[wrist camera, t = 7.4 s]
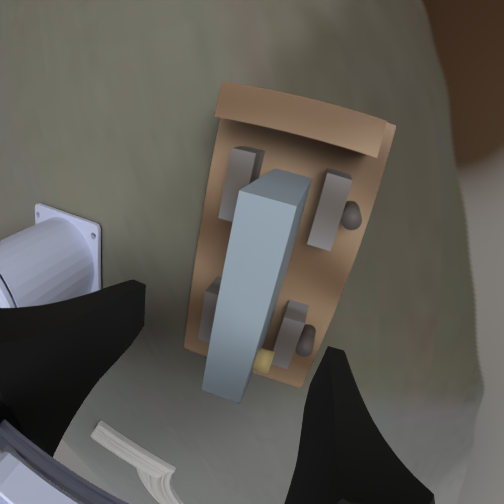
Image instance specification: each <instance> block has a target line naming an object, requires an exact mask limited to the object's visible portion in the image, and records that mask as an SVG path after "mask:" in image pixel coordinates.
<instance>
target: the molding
mask: <svg viewBox="0 0 504 504" xmlns="http://www.w3.org/2000/svg"><path fill="white" fill-rule="evenodd" d="M91 438H93V439H94V440H95V441H97V442H98V443H100V444H101V445H102V446H104V447H105V448H107V449H108V450H110V451H111V452H113V453H114V454H116V455H117V456H119V457H120V458H122V459H123V460H125V461H126V462H128V463H130V464H131V465H133V466H134V467H136V469H137V472H138V475H139V477H140V479H141V481H142V482H143V484H144V486H145V487H146V488H147V490H148V491H149V492H150V494H151V495H152V496H153V497H154V498H155V499H156V500H157V501H158V502H159V503H160V504H184V503H183V502H182V501H181V500H180V499H179V497H178V496H177V494H176V493H175V491H174V489H173V486H172V474H173V473H174V471H175V470H176V468H175V467H173V466H172V465H170V464H168V463H166V462H165V461H163V460H161V459H159V458H158V457H156V456H154V455H153V454H151V453H149V452H148V451H146V450H144V449H143V448H141V447H140V446H138V445H137V444H135V443H133V442H132V441H130V440H129V439H127V438H126V437H124V436H123V435H121V434H120V433H118V432H117V431H116V430H114V429H113V428H111V427H110V426H108V425H107V424H106V423H104V422H103V421H102V420H100V422H99V423H98V425H97V427H96V428H95V430H94V431H93V433H92V434H91Z"/></svg>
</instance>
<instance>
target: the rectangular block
mask: <svg viewBox="0 0 504 504" xmlns="http://www.w3.org/2000/svg"><path fill="white" fill-rule="evenodd" d="M311 181H312V178H310V177H306V176H303V175H299V174H295V173H292V172H288V171H284V170H281V169H277V168H275V169H273V170H271V171H270V172H268V173H266V174H265V175H263V176H262V177H260V178H258V179H257V180H255V181H253V182H252V183H250V184H249V185H247V186H246V187H244V188H242V189H241V190H239V194H238V199H237V204H236V209H235V214H234V218H233V223H232V228H231V233H230V238H229V243H228V248H227V254H226V259H225V264H224V269H223V274H222V279H221V285H220V290H219V295H218V300H217V306H216V311H215V316H214V322H213V327H212V333H211V338H210V344H209V349H208V355H207V361H206V366H205V372H204V378H203V384H202V390H203V391H205V392H208V393H210V394H213V395H216V396H219V397H221V398H224V399H227V400H230V401H233V402H235V403H238V404H240V402H241V399H242V397H243V394H244V392H245V389H246V387H247V384H248V382H249V379H250V377H251V374H252V372H253V370H256V371H259V372H262V373H265V374H268V371H269V369H270V366H271V363H272V360H273V357H274V354H275V352H273V351H270V350H266V349H263V348H262V346H263V344H264V341H265V339H266V336H267V333H268V331H269V327H270V324H271V321H272V318H273V314H274V311H275V308H276V304H277V301H278V298H279V294H280V291H281V288H282V284H283V281H284V278H285V274H286V271H287V267H288V264H289V260H290V257H291V253H292V250H293V246H294V243H295V239H296V236H297V232H298V229H299V225H300V222H301V218H302V214H303V211H304V207H305V203H306V200H307V196H308V192H309V188H310V185H311Z"/></svg>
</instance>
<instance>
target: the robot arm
mask: <svg viewBox="0 0 504 504" xmlns="http://www.w3.org/2000/svg"><path fill="white" fill-rule="evenodd" d="M35 221H36V224H35V225H33V226H31V227H29V228H26V229H24V230H22V231H20V232H18V233H15V234H13V235H11V236H9V237H7V238H5V239H3V240H0V504H83V503H84V504H128V503H126V502H124V501H122V500H121V499H119V498H116V497H115V496H113V495H111V494H109V493H108V492H106V491H104V490H102V489H100V488H99V487H97V486H95V485H94V484H92V483H90V482H89V481H87V480H85V479H84V478H82V477H80V476H79V475H77V474H76V473H74V472H73V471H71V470H69V469H68V468H67V467H65V466H64V465H62V464H61V463H60V462H58V461H57V460H55V459H54V458H53V455H54V453H55V451H56V449H57V447H58V445H59V443H60V441H61V439H62V437H63V435H64V433H65V431H66V429H67V428H68V426H69V424H70V422H71V421H72V419H73V417H74V416H75V414H76V412H77V411H78V409H79V408H80V406H81V404H82V403H83V401H84V400H85V398H86V397H87V396H88V394H89V393H90V391H91V390H92V388H93V387H94V386H95V384H96V383H97V382H98V381H99V379H100V378H101V377H102V376H103V375H104V374H105V373H106V372H107V371H108V369H109V368H110V367H111V366H112V365H113V364H114V363H115V362H116V361H117V360H118V359H119V358H120V356H121V355H122V354H123V353H124V352H125V351H126V350H127V349H128V348H129V346H130V345H131V344H132V343H133V341H134V340H135V339H136V337H137V336H138V334H139V333H140V331H141V330H142V328H143V327H144V314H145V289H146V285H145V284H143V283H140V282H138V281H135V280H129V281H126V282H122V283H119V284H116V285H113V286H110V287H107V288H104V289H101V228H100V225H99V224H98V223H96V222H93V221H90V220H87V219H84V218H81V217H79V216H76V215H73V214H70V213H67V212H64V211H61V210H59V209H56V208H53V207H50V206H47V205H44V204H42V203H38V204H36V206H35ZM94 234H95V235H96V237H95V236H94ZM37 471H38V472H39V473H38V472H37ZM42 475H43V476H42ZM46 478H47V479H46ZM49 480H50V481H51V482H50V481H49ZM53 483H54V484H53ZM56 485H57V486H56ZM60 488H61V489H60ZM63 490H64V491H63ZM66 492H67V493H66ZM69 494H70V495H69ZM72 496H73V497H72ZM75 498H76V499H75ZM80 501H81V502H80ZM285 504H435V500H434V494H433V493H432V492H431V491H430V490H429V489H428V488H427V487H425V486H424V485H423V484H422V483H421V482H420V481H419V480H418V479H417V478H416V477H415V476H414V475H413V474H412V473H411V472H410V471H409V470H408V469H407V468H406V466H405V465H404V464H403V463H402V462H401V461H400V459H399V458H398V457H397V456H396V454H395V453H394V452H393V450H392V449H391V448H390V446H389V445H388V444H387V442H386V441H385V439H384V438H383V436H382V435H381V433H380V431H379V430H378V428H377V426H376V425H375V423H374V421H373V420H372V418H371V416H370V414H369V412H368V410H367V408H366V406H365V403H364V401H363V399H362V397H361V394H360V392H359V390H358V387H357V385H356V382H355V380H354V377H353V374H352V371H351V369H350V366H349V363H348V360H347V357H346V354H345V352H344V351H343V350H340V349H336V348H333V347H329V346H328V347H327V350H326V352H325V354H324V356H323V358H322V360H321V363H320V365H319V367H318V369H317V371H316V373H315V375H314V377H313V379H312V381H311V383H310V387H309V391H308V395H307V399H306V403H305V407H304V414H303V422H302V429H301V437H300V444H299V451H298V457H297V462H296V467H295V470H294V474H293V478H292V481H291V485H290V488H289V491H288V494H287V497H286V501H285Z"/></svg>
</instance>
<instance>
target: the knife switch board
mask: <svg viewBox="0 0 504 504" xmlns="http://www.w3.org/2000/svg"><path fill="white" fill-rule="evenodd" d="M215 117H220V121H219V126H218V131H217V136H216V141H215V147H214V152H213V157H212V162H211V168H210V173H209V179H208V184H207V190H206V196H205V202H204V207H203V213H202V220H201V226H200V232H199V238H198V245H197V251H196V258H195V265H194V272H193V279H192V286H191V293H190V301H189V309H188V316H187V324H186V333H185V341H184V348H185V349H188V350H191V351H193V352H196V353H198V354H201V355H204V356H206V357H207V355H208V349H209V344H210V338H211V333H212V327H213V322H214V316H215V311H216V306H217V300H218V295H219V290H220V285H221V279H222V274H223V269H224V264H225V259H226V254H227V248H228V243H229V238H230V233H231V228H232V223H233V218H234V214H235V209H236V204H237V199H238V194H239V190H241V189H242V188H244V187H246V186H247V185H249V184H250V183H252V182H253V181H255V180H257V179H258V178H260V177H262V176H263V175H265V174H266V173H268V172H270V171H271V170H273V169H275V168H277V169H281V170H284V171H288V172H292V173H295V174H299V175H303V176H306V177H310V178H312V181H311V185H310V188H309V192H308V196H307V200H306V203H305V207H304V211H303V214H302V218H301V222H300V225H299V229H298V232H297V236H296V239H295V243H294V246H293V250H292V253H291V257H290V260H289V264H288V267H287V271H286V274H285V278H284V281H283V284H282V288H281V291H280V294H279V298H278V301H277V304H276V308H275V311H274V314H273V318H272V321H271V324H270V327H269V331H268V333H267V336H266V339H265V341H264V344H263V346H262V348H263V349H266V350H270V351H273V352H275V354H274V357H273V360H272V363H271V366H270V369H269V371H268V374H265V373H262V372H259V371H256V370H253V372H252V373H254V374H258V375H261V376H264V377H267V378H270V379H273V380H276V381H280V382H283V383H286V384H290V385H293V386H296V387H300V388H301V387H302V385H303V383H304V380H305V378H306V376H307V374H308V372H309V370H310V367H311V365H312V363H313V361H314V359H315V356H316V354H317V352H318V350H319V347H320V345H321V343H322V340H323V338H324V336H325V333H326V331H327V329H328V326H329V324H330V322H331V319H332V317H333V314H334V312H335V309H336V307H337V304H338V302H339V299H340V297H341V294H342V292H343V289H344V287H345V284H346V281H347V279H348V276H349V274H350V271H351V268H352V266H353V263H354V260H355V257H356V255H357V252H358V249H359V246H360V243H361V240H362V238H363V235H364V232H365V229H366V226H367V223H368V220H369V217H370V214H371V211H372V208H373V205H374V201H375V198H376V195H377V192H378V189H379V185H380V182H381V179H382V175H383V172H384V168H385V165H386V161H387V158H388V154H389V151H390V147H391V143H392V140H393V136H394V132H395V128H396V125H393V124H390V123H387V121H385V120H382V119H379V118H376V117H373V116H370V115H367V114H364V113H361V112H357V111H354V110H351V109H347V108H344V107H340V106H337V105H333V104H329V103H326V102H322V101H318V100H314V99H310V98H306V97H301V96H297V95H293V94H288V93H284V92H279V91H274V90H269V89H264V88H259V87H253V86H248V85H242V84H236V83H229V82H222V83H221V87H220V92H219V97H218V101H217V106H216V111H215Z"/></svg>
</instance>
